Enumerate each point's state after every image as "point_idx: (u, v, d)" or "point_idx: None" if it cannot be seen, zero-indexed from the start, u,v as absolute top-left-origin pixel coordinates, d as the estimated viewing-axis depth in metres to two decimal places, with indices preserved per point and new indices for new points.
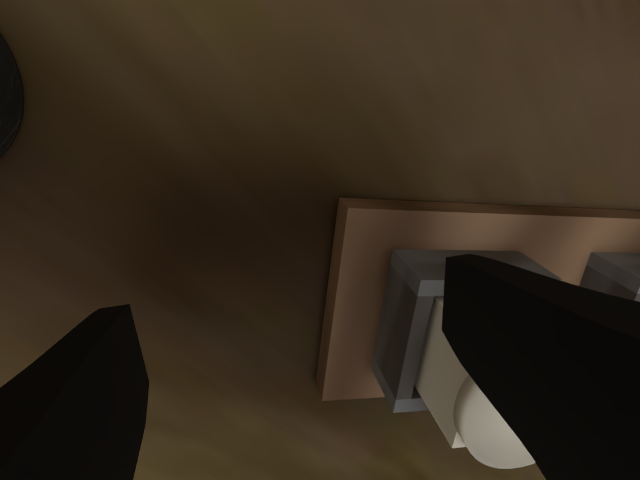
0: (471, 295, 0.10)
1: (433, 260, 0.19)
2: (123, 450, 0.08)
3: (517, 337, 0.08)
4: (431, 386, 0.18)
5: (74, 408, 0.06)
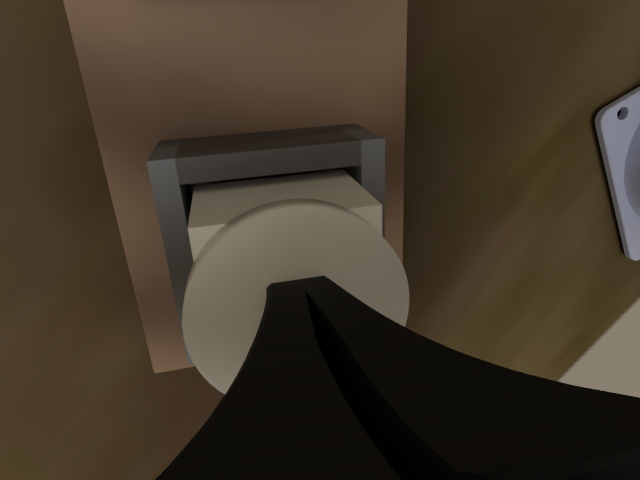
0: None
1: None
2: None
3: (333, 372, 0.08)
4: None
5: None
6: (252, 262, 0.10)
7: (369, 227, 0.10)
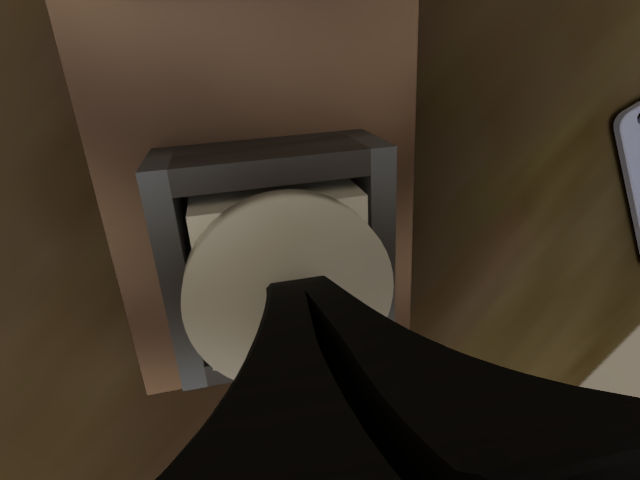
0: None
1: None
2: None
3: (333, 372, 0.08)
4: None
5: None
6: (246, 248, 0.10)
7: (355, 216, 0.11)
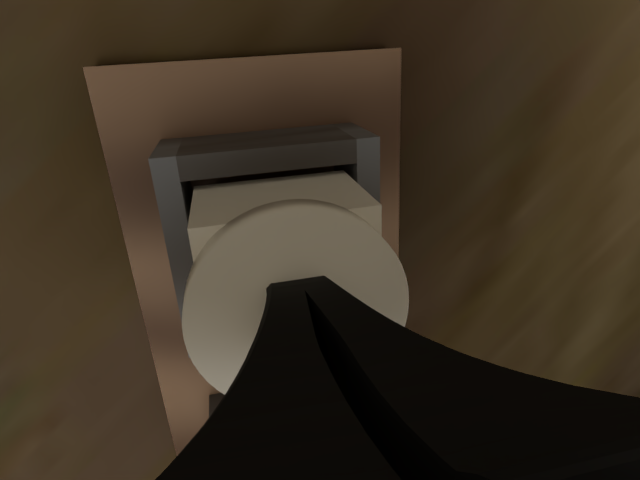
0: None
1: None
2: None
3: (333, 371, 0.08)
4: None
5: None
6: None
7: None
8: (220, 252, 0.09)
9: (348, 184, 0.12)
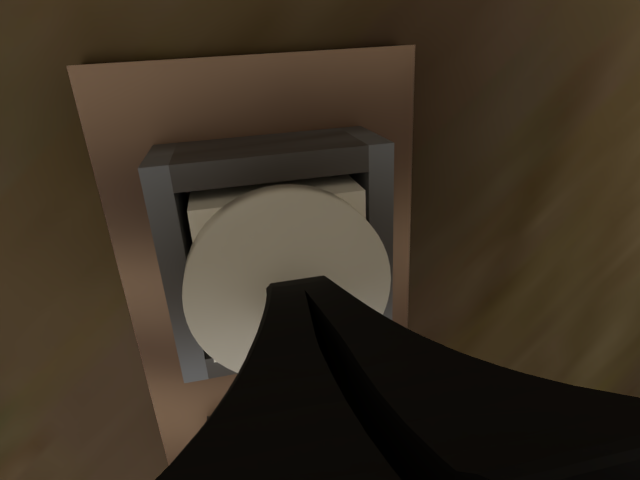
0: None
1: None
2: None
3: (333, 372, 0.08)
4: None
5: None
6: None
7: None
8: (217, 231, 0.10)
9: None
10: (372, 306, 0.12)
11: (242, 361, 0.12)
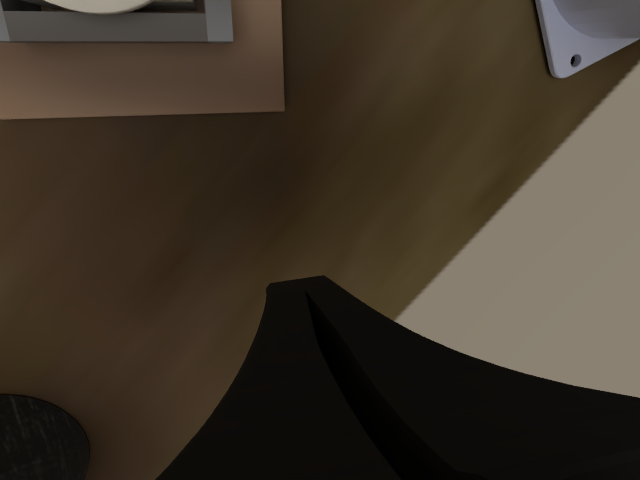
0: None
1: None
2: None
3: (333, 372, 0.08)
4: (160, 6, 0.13)
5: None
6: None
7: None
8: None
9: None
10: None
11: None
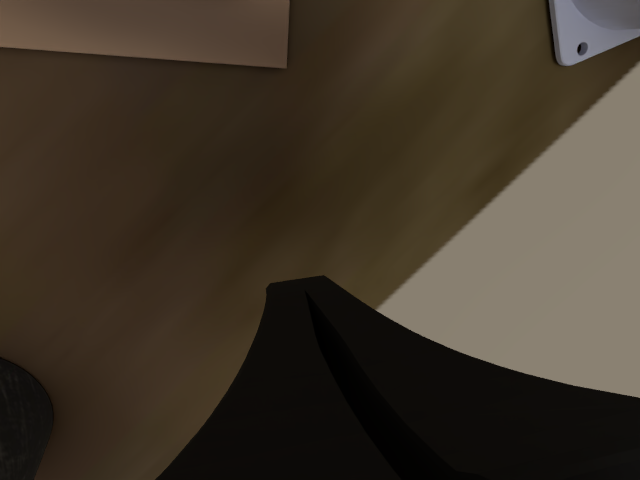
0: None
1: None
2: None
3: (333, 371, 0.08)
4: None
5: None
6: None
7: None
8: None
9: None
10: None
11: None
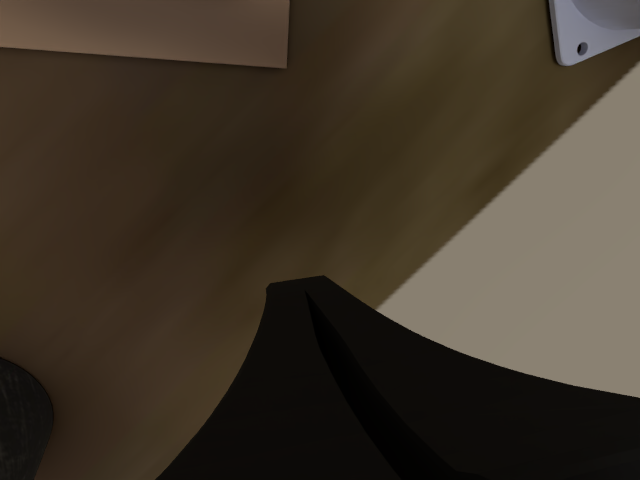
0: None
1: None
2: None
3: (333, 371, 0.08)
4: None
5: None
6: None
7: None
8: None
9: None
10: None
11: None
